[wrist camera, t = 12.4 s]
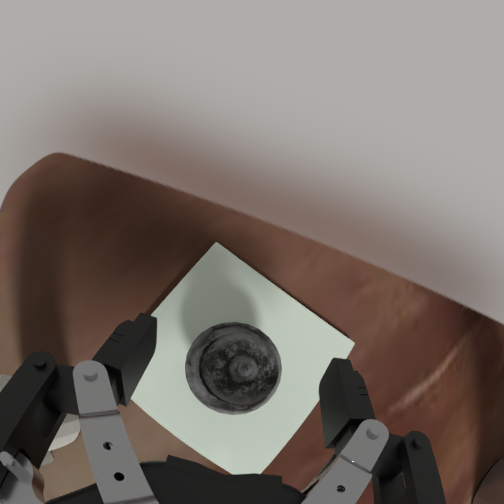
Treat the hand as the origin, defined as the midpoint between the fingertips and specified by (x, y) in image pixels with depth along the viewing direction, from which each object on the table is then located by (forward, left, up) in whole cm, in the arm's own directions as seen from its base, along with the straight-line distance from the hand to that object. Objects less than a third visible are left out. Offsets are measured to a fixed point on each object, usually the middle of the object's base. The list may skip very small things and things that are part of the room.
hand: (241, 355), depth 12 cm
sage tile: (0, 0, -9) cm, 9 cm away
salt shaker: (0, +1, -8) cm, 9 cm away
